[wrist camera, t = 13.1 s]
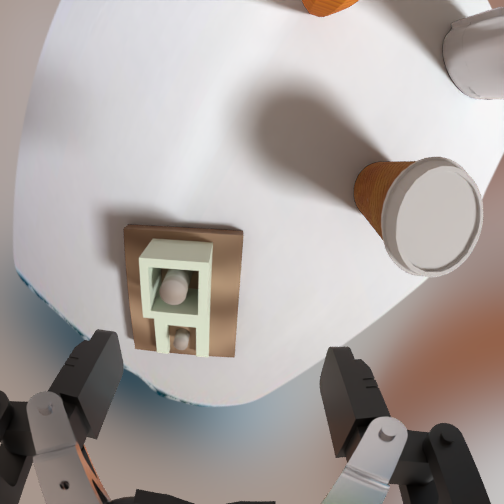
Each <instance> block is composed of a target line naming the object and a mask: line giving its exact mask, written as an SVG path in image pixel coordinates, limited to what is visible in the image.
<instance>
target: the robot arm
mask: <svg viewBox="0 0 504 504" xmlns="http://www.w3.org/2000/svg"><path fill="white" fill-rule="evenodd" d="M451 26H452V28H451V31H450V32H449V33H448V34H447V35H446V37H445V39H444V43H443V57H444V62H445V65H446V69H447V71H448V73H449V75H450V77H451V79H452V80H453V82H454V83H455V85H456V86H457V87H458V88H459V89H460V90H461V91H462V92H463V93H464V94H466V95H467V96H469V97H471V98H474V99H487V100H491V99H504V8H503V7H498V8H495V9H492V10H488V11H485V12H482V13H479V14H476V15H473V16H470V17H467V18H464V19H461V20H459V21H456V22H453V23H452V24H451ZM122 374H123V359H122V354H121V350H120V345H119V340H118V335H117V333H116V332H113V331H106V330H99V329H98V330H96V331H95V333H94V334H93V336H92V338H91V339H90V341H87V340H84V341H83V342H81V343H80V344H79V345H78V346H76V347H75V348H74V350H73V351H72V353H71V354H70V356H69V358H68V359H67V361H66V362H65V365H64V366H63V367H62V369H61V370H60V372H59V374H58V375H57V377H56V378H55V380H54V382H53V383H52V385H51V387H50V388H49V390H48V391H47V392H46V391H45V392H40V393H37V394H35V395H34V396H33V397H31V399H30V400H29V401H28V402H14V401H9V399H8V397H7V396H6V394H5V393H4V392H2V391H0V442H1V446H0V504H18V503H19V500H20V497H21V494H22V491H23V488H24V485H25V482H26V479H27V476H28V474H29V471H30V468H31V466H32V463H34V467H35V470H36V474H37V477H38V480H39V483H40V487H41V490H42V493H43V496H44V499H45V502H46V504H194V503H191V502H188V501H184V500H182V499H179V498H176V497H174V496H170V495H167V494H160V493H154V492H148V491H144V490H139V489H137V490H136V494H135V497H123V498H119V499H115V500H111V499H110V497H109V495H108V493H107V492H106V490H105V488H104V487H103V485H102V483H101V481H100V479H99V477H98V475H97V472H96V470H95V468H94V466H93V463H92V461H91V459H90V456H89V454H88V452H87V449H86V447H85V445H84V442H85V440H86V437H90V438H94V439H97V438H98V435H99V432H100V430H101V427H102V425H103V422H104V419H105V417H106V414H107V411H108V409H109V407H110V404H111V402H112V399H113V397H114V394H115V392H116V389H117V387H118V384H119V382H120V380H121V377H122ZM320 392H321V396H322V400H323V404H324V409H325V413H326V417H327V421H328V425H329V430H330V434H331V439H332V443H333V447H334V451H335V456H336V458H339V457H346V460H347V465H346V466H345V468H344V470H343V471H342V473H341V474H340V476H339V478H338V479H337V481H336V482H335V484H334V485H333V487H332V488H331V490H330V491H329V493H328V494H327V496H326V497H325V498H324V500H323V501H322V503H321V504H382V503H383V501H384V499H385V497H386V495H387V493H388V490H389V487H390V485H388V484H399V488H400V492H401V496H402V500H403V504H491V503H490V500H489V497H488V495H487V493H486V489H485V487H484V484H483V482H482V479H481V477H480V474H479V472H478V469H477V467H476V465H475V462H474V460H473V458H472V455H471V453H470V451H469V448H468V446H467V444H466V442H465V440H464V437H463V435H462V433H461V432H460V431H459V429H458V428H456V427H455V426H453V425H451V424H447V423H440V424H437V425H435V426H434V427H433V428H432V429H431V430H430V432H419V431H411V430H407V429H406V427H405V426H404V425H403V423H401V422H400V421H399V420H397V419H395V418H392V417H391V416H390V413H389V411H388V409H387V406H386V404H385V402H384V399H383V397H382V394H381V392H380V390H379V388H378V385H377V383H376V380H374V376H373V373H372V371H371V369H370V367H369V366H368V365H367V364H365V362H364V361H362V360H361V359H358V360H355V359H354V356H353V354H352V352H351V349H350V348H349V347H329V349H328V351H327V354H326V358H325V362H324V365H323V369H322V372H321V376H320ZM228 504H275V501H272V502H271V501H270V502H250V501H248V502H247V501H246V502H245V501H240V502H234V503H228Z"/></svg>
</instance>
